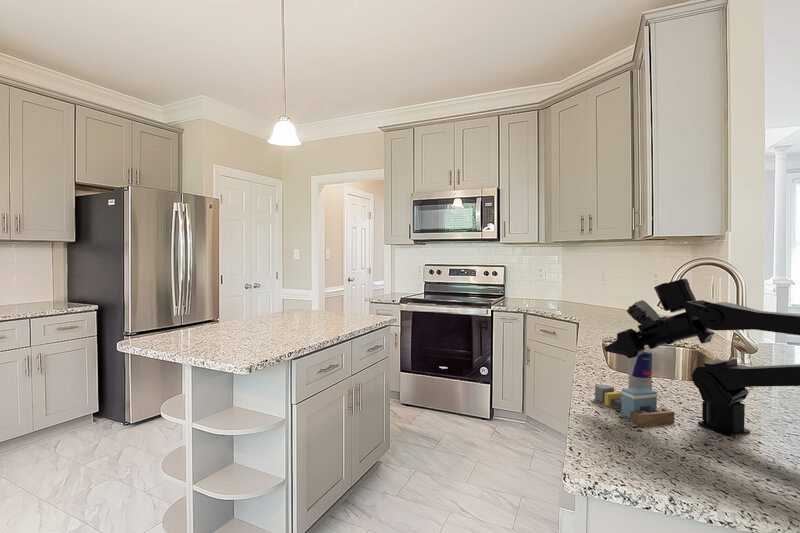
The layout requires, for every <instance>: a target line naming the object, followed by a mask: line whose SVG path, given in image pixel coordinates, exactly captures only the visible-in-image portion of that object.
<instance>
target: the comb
mask: <svg viewBox="0 0 800 533" xmlns="http://www.w3.org/2000/svg"><path fill="white" fill-rule="evenodd" d="M629 420H630V422H629V423H631V424H633V425H636V426H637V427H648V426H656V425H665V424H674V423H675V411H673V410H671V409H668V408H666V407H663V408H661V409H659V408H657V409H653V412H649V413H647V412H645V411H643V410H640V411H639V413H637V412H635V411H630V418H629Z"/></svg>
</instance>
